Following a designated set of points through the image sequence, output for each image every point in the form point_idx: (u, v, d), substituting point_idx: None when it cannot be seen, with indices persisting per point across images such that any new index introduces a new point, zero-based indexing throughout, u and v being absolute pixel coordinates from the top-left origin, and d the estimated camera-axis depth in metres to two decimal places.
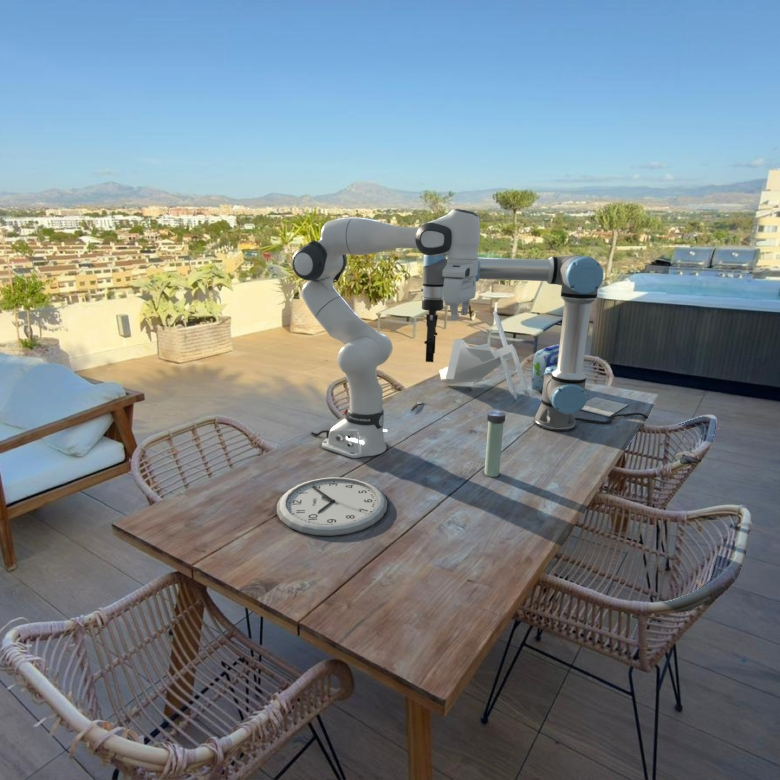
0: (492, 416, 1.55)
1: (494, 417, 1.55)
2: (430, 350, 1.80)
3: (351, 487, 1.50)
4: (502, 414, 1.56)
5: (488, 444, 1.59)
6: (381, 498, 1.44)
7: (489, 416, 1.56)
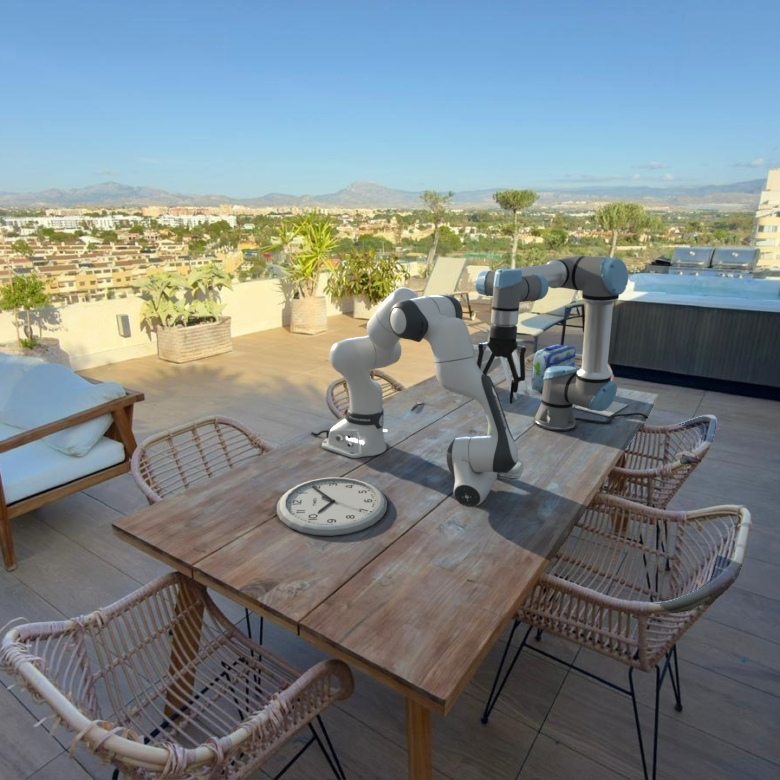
0: None
1: None
2: None
3: (351, 487, 1.50)
4: None
5: None
6: (381, 498, 1.44)
7: None
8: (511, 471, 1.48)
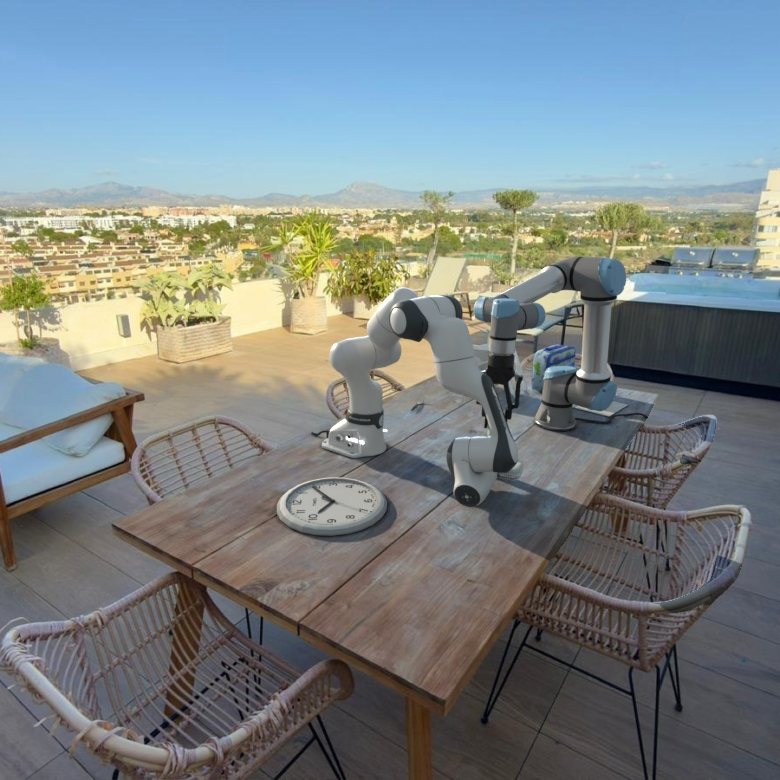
0: None
1: None
2: None
3: (351, 487, 1.50)
4: None
5: None
6: (381, 498, 1.44)
7: None
8: (511, 471, 1.48)
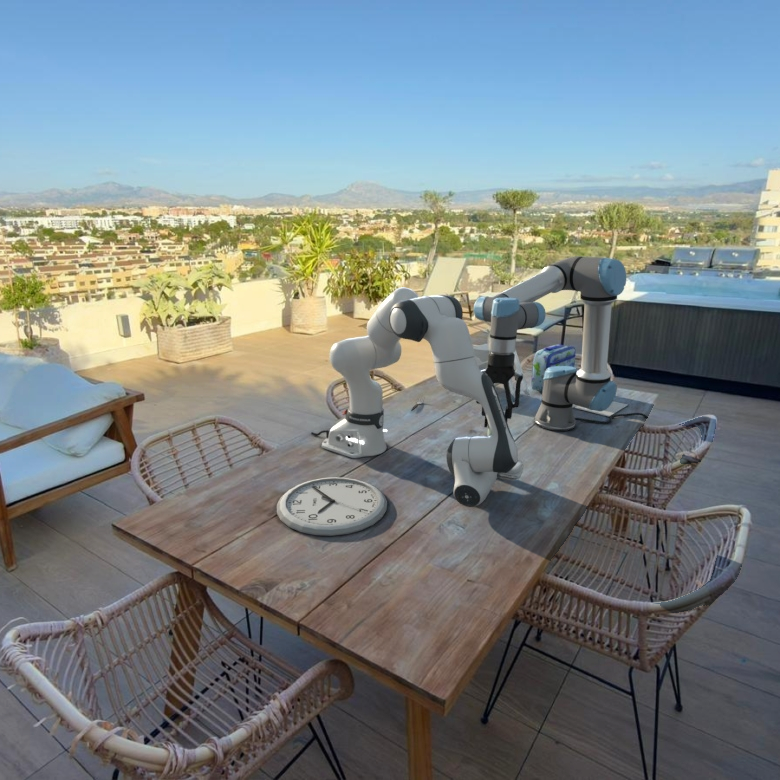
0: None
1: None
2: None
3: (351, 487, 1.50)
4: None
5: None
6: (381, 498, 1.44)
7: None
8: (511, 471, 1.48)
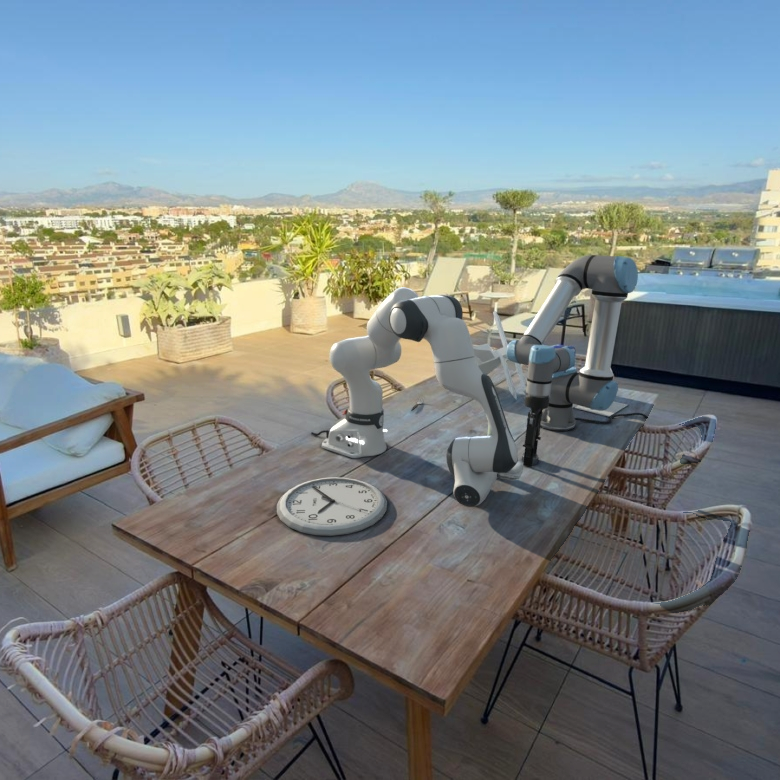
0: None
1: None
2: (528, 454, 1.66)
3: (351, 487, 1.50)
4: None
5: None
6: (381, 498, 1.44)
7: None
8: (511, 471, 1.48)
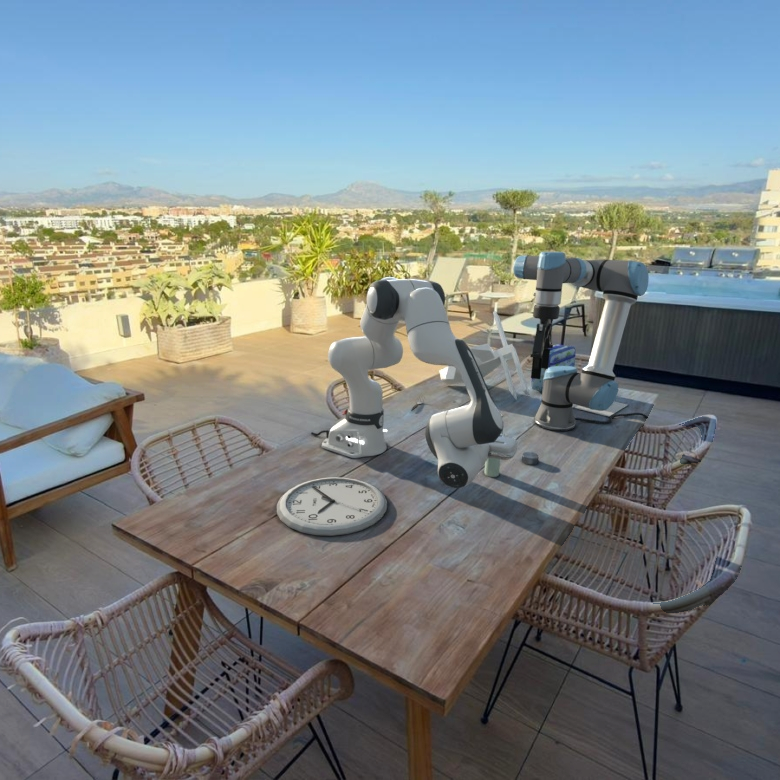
0: None
1: None
2: (536, 365, 1.54)
3: (351, 487, 1.50)
4: (525, 453, 1.72)
5: None
6: (381, 498, 1.44)
7: None
8: (503, 449, 1.32)
